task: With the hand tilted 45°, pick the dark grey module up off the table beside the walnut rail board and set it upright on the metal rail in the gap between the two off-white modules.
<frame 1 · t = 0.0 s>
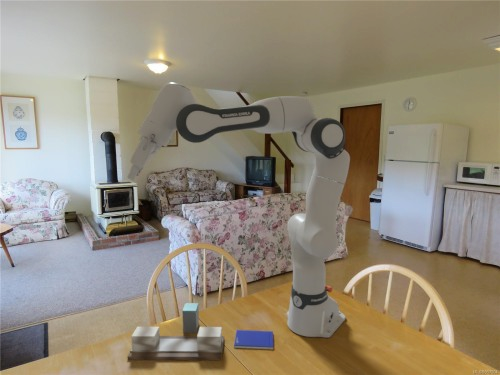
hand: (133, 176, 92), 54 cm above the table, tool tilted 30°, fingers open, 8 cm apart
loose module: (191, 328, 110), on the table
hard drive: (254, 342, 103), on the table
rail board: (178, 348, 99), on the table
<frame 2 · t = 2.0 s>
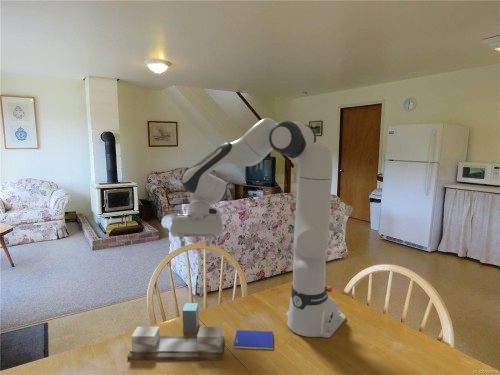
hand: (195, 246, 118), 25 cm above the table, tool tilted 45°, fingers open, 8 cm apart
nothing on the table moved.
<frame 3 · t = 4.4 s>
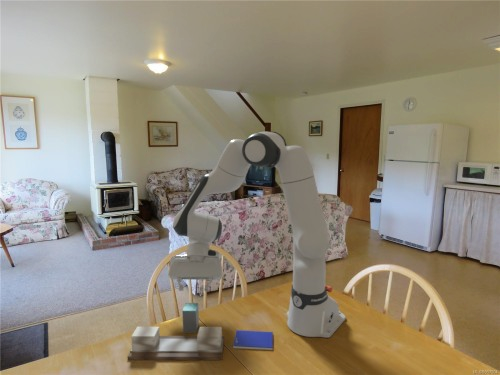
hand: (193, 290, 115), 10 cm above the table, tool tilted 45°, fingers open, 8 cm apart
nothing on the table moved.
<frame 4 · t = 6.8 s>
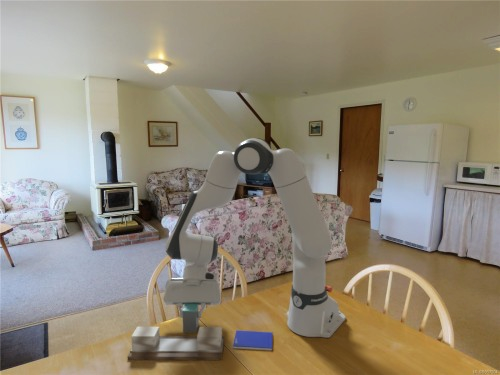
hand: (190, 317, 108), 4 cm above the table, tool tilted 45°, fingers closed on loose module, 4 cm apart
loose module: (191, 328, 110), on the table, touching gripper
everything else where it was.
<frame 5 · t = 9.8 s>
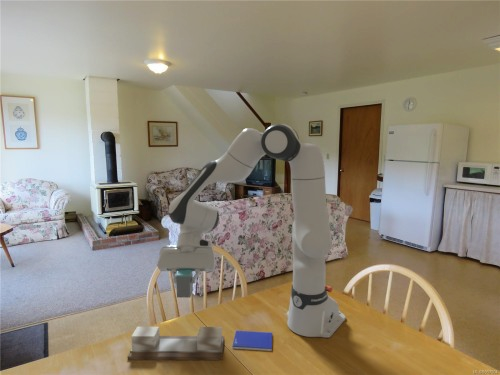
hand: (184, 282, 108), 17 cm above the table, tool tilted 45°, fingers closed on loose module, 4 cm apart
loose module: (185, 293, 109), point 12 cm above the table, touching gripper
everything else where it was.
when the fingers open (7 cm above the table, at t = 12.8 s): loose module drops 1 cm, resting on rail board.
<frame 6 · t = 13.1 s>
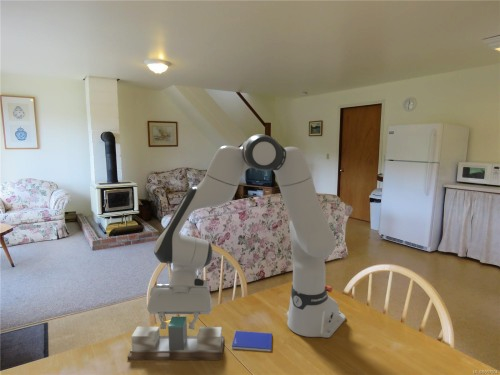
hand: (177, 328, 97), 7 cm above the table, tool tilted 45°, fingers open, 7 cm apart
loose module: (178, 344, 99), point 1 cm above the table, touching rail board
everything else where it was.
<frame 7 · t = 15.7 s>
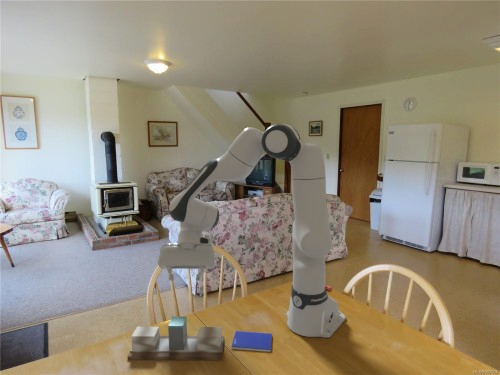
hand: (184, 280, 108), 17 cm above the table, tool tilted 45°, fingers open, 8 cm apart
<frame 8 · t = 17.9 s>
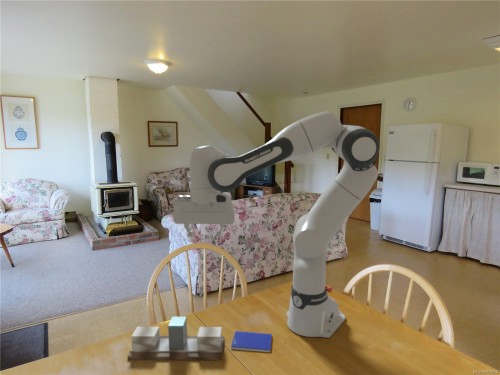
hand: (204, 236, 105), 33 cm above the table, tool pointing down, fingers open, 8 cm apart
at the end: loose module 0.1 cm off-centre on the rail board, point 1.4 cm above the rail board's base; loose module tilted 0°; the gripper is holding nothing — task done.
